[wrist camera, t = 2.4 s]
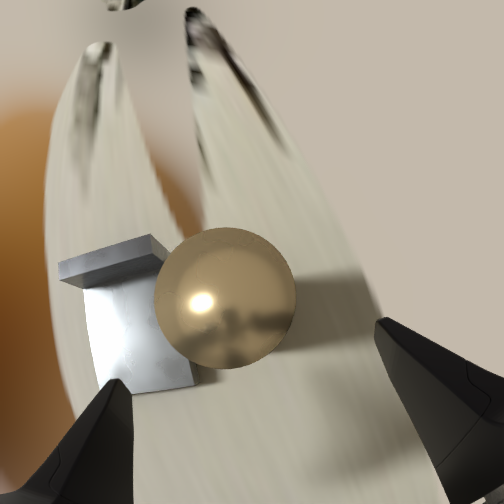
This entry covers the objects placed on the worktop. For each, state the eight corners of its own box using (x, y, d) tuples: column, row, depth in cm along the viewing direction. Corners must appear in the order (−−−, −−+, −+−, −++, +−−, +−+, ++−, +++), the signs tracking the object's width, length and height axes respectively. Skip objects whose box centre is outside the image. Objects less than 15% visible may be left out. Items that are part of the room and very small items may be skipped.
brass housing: (290, 344, 19) (313, 348, 9) (219, 361, 18) (169, 380, 9) (272, 275, 20) (273, 212, 10) (203, 292, 20) (145, 247, 10)
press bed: (200, 382, 18) (180, 392, 14) (111, 393, 18) (77, 402, 14) (173, 255, 21) (150, 233, 16) (92, 277, 21) (58, 262, 16)
